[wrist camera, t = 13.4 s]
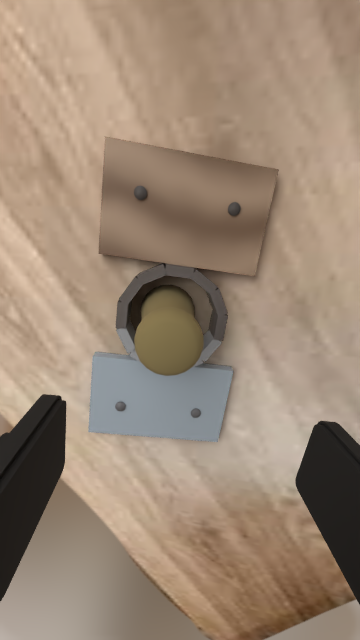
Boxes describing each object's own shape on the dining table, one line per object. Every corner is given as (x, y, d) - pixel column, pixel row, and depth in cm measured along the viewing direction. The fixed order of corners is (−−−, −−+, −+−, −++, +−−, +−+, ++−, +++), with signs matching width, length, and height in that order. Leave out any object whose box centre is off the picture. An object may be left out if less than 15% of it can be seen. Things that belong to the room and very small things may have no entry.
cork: (180, 345, 29) (189, 400, 18) (132, 324, 28) (111, 370, 17) (204, 298, 27) (228, 329, 17) (153, 275, 26) (146, 292, 16)
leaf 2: (98, 314, 27) (90, 322, 24) (238, 331, 29) (246, 341, 26) (91, 425, 31) (83, 443, 28) (215, 435, 33) (220, 453, 30)
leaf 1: (108, 142, 23) (100, 126, 20) (273, 173, 24) (287, 163, 21) (97, 317, 27) (89, 324, 24) (238, 334, 29) (246, 343, 26)
